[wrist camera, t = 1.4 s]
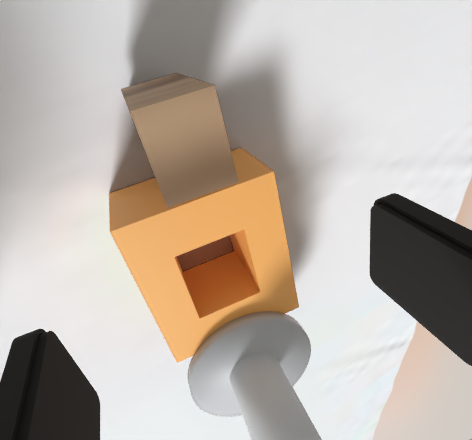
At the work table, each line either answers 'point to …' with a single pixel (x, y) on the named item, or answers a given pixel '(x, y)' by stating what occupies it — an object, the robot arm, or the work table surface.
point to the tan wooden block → (182, 136)
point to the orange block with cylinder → (223, 295)
